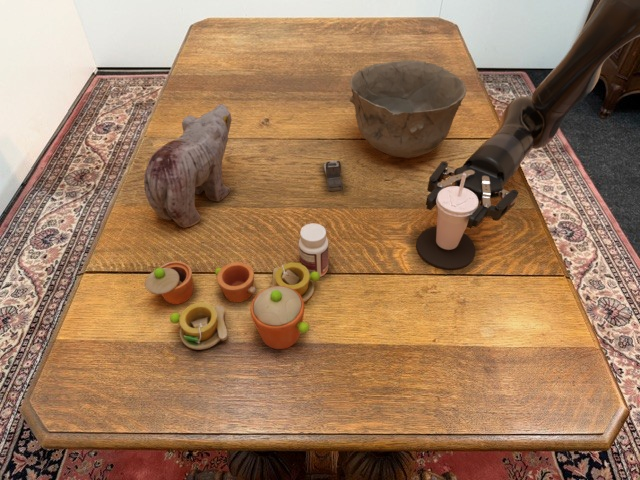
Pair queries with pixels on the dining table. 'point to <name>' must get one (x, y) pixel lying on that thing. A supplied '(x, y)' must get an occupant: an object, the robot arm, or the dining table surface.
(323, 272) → the pill bottle
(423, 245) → the coaster
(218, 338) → the toy tea set
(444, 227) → the smoothie
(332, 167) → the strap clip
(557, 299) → the dining table surface
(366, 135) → the bowl
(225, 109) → the sculpture
